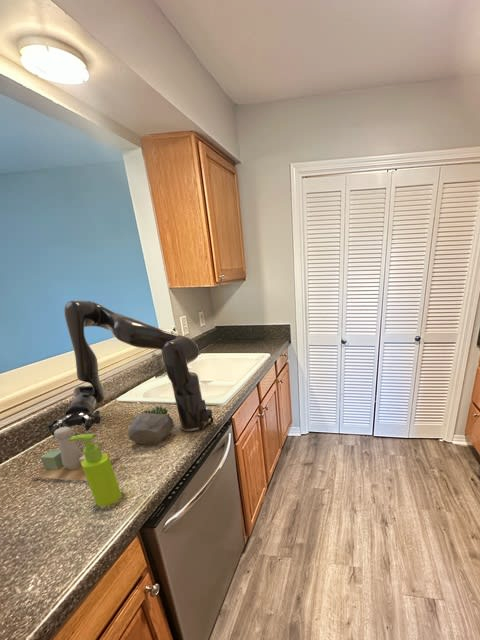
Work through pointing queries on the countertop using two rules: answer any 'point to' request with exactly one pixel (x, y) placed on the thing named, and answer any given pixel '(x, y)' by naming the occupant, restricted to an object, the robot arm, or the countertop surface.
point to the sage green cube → (52, 460)
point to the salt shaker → (68, 449)
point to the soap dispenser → (98, 472)
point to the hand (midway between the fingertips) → (70, 430)
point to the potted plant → (151, 426)
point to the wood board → (65, 473)
